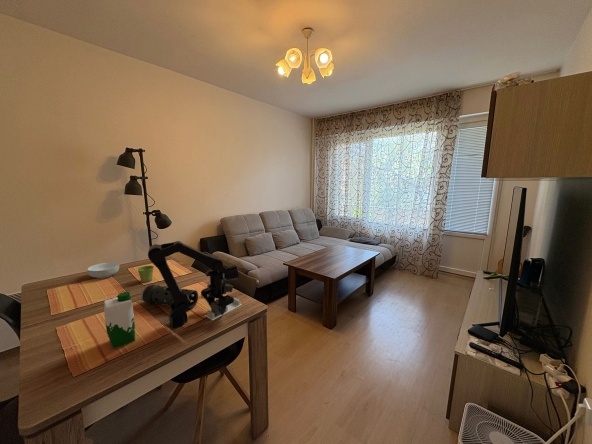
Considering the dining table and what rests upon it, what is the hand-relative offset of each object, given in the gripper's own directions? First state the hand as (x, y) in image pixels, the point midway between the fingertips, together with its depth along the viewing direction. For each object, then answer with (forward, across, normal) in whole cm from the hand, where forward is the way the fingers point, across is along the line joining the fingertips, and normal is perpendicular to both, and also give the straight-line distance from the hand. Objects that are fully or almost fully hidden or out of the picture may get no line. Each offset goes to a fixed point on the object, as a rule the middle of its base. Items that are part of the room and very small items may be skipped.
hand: (217, 312), depth 115 cm
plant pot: (+2, +70, +4) cm, 70 cm away
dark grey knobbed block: (+1, 0, 0) cm, 1 cm away
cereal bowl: (+2, +100, +18) cm, 102 cm away
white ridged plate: (+2, 0, -4) cm, 4 cm away
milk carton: (+2, +15, +35) cm, 38 cm away
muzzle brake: (+2, +27, +10) cm, 29 cm away
